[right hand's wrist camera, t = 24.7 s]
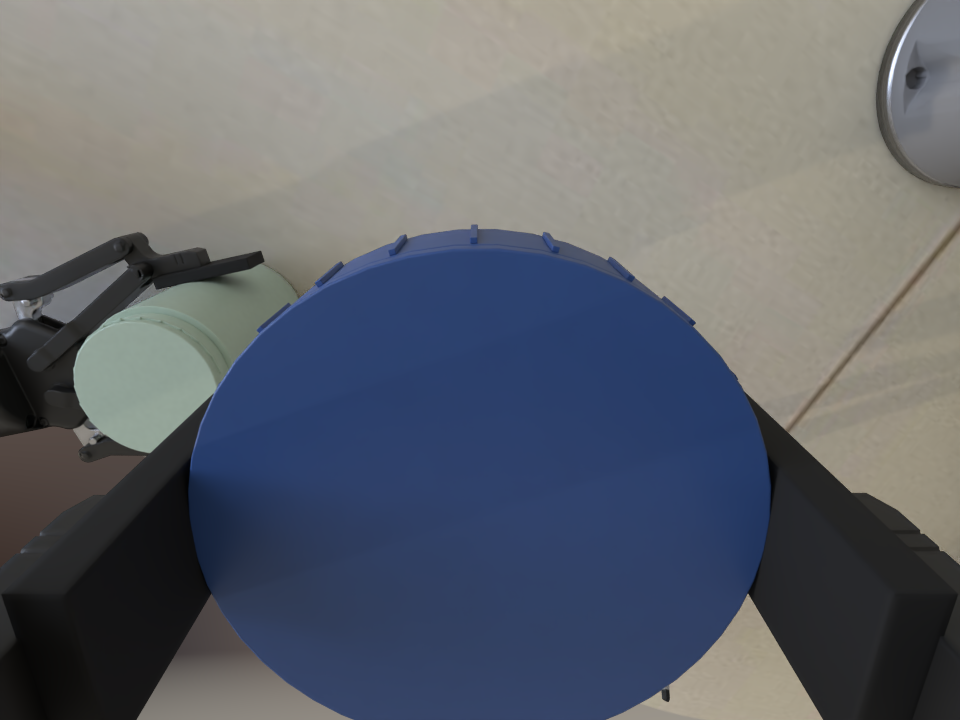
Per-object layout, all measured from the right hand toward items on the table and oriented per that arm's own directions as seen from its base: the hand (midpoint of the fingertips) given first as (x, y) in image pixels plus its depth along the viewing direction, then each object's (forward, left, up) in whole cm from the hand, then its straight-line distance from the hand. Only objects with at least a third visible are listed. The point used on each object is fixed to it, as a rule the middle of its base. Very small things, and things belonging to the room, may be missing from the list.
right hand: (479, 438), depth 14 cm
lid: (0, 0, +3) cm, 3 cm away
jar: (+10, +17, -34) cm, 39 cm away
